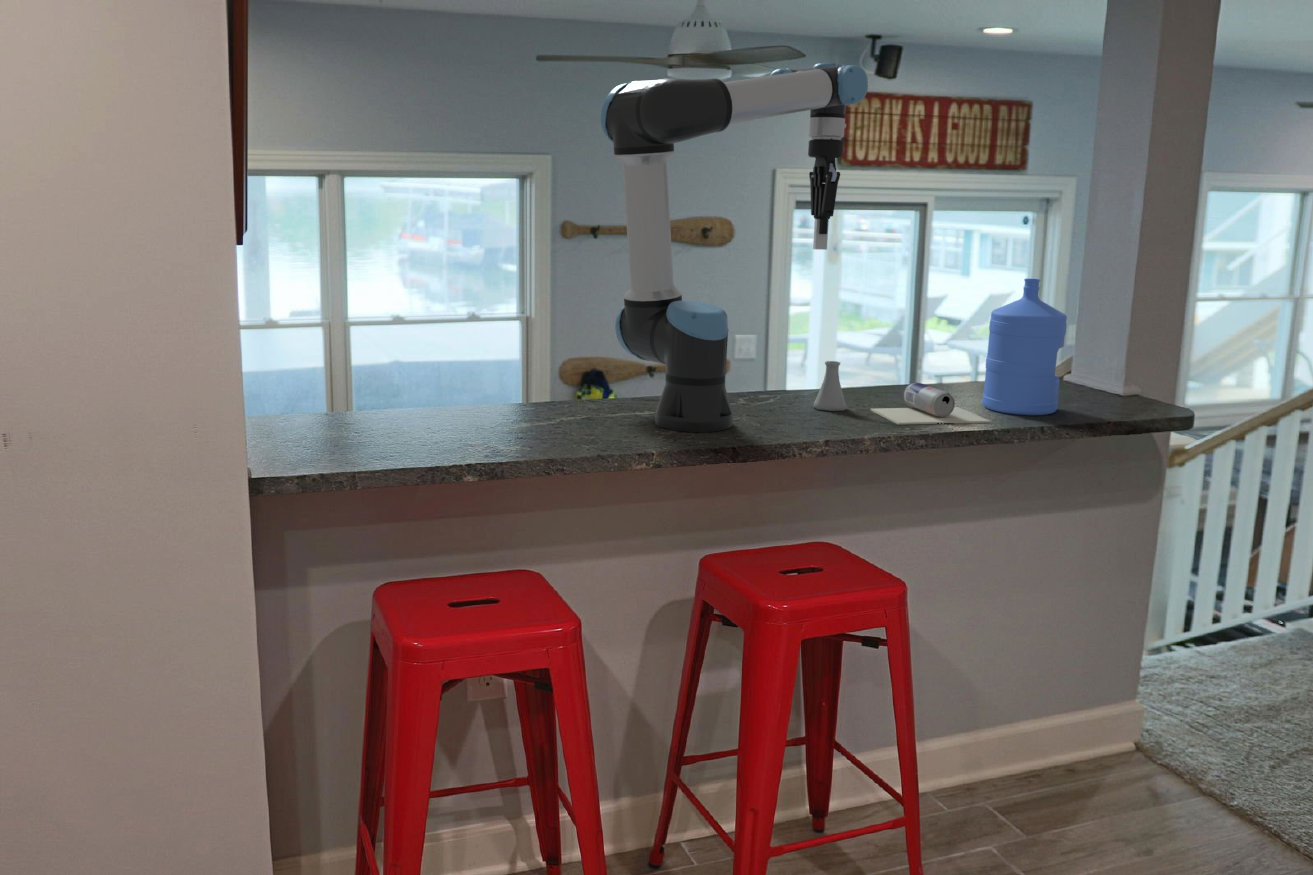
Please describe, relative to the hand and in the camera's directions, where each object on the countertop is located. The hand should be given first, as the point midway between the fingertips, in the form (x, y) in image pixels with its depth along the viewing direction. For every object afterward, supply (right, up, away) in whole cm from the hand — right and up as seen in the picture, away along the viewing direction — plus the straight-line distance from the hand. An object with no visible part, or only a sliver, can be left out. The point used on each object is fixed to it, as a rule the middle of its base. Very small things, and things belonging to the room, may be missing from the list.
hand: (819, 249), depth 244 cm
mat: (+20, -37, -15) cm, 45 cm away
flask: (+1, -36, -9) cm, 37 cm away
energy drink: (+19, -32, -8) cm, 38 cm away
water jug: (+43, -36, -4) cm, 56 cm away
